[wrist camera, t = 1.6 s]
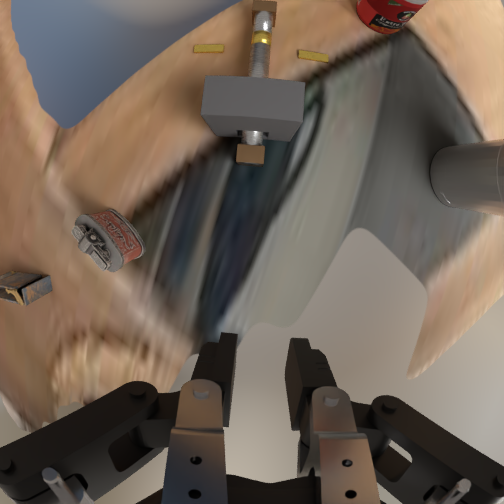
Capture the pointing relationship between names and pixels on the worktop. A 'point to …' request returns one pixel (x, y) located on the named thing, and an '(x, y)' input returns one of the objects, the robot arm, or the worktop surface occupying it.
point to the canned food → (388, 13)
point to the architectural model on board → (23, 287)
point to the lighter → (108, 239)
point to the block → (253, 106)
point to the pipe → (258, 72)
